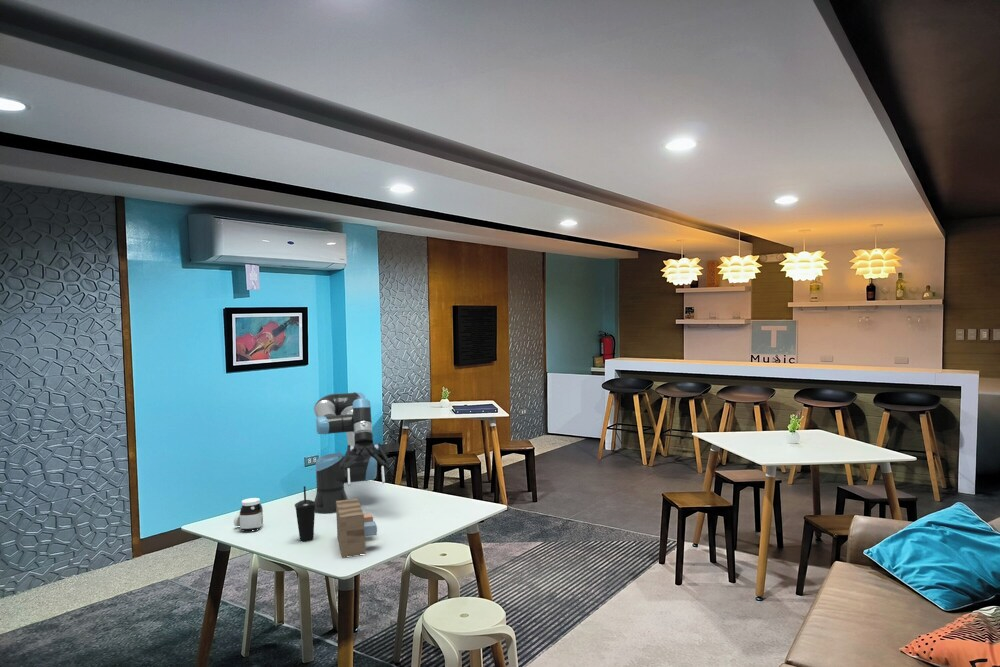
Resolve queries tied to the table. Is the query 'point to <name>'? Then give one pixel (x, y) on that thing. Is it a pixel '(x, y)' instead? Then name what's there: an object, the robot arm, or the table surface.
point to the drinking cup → (305, 518)
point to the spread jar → (250, 515)
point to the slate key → (370, 528)
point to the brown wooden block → (350, 527)
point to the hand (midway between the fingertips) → (366, 483)
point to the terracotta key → (368, 517)
